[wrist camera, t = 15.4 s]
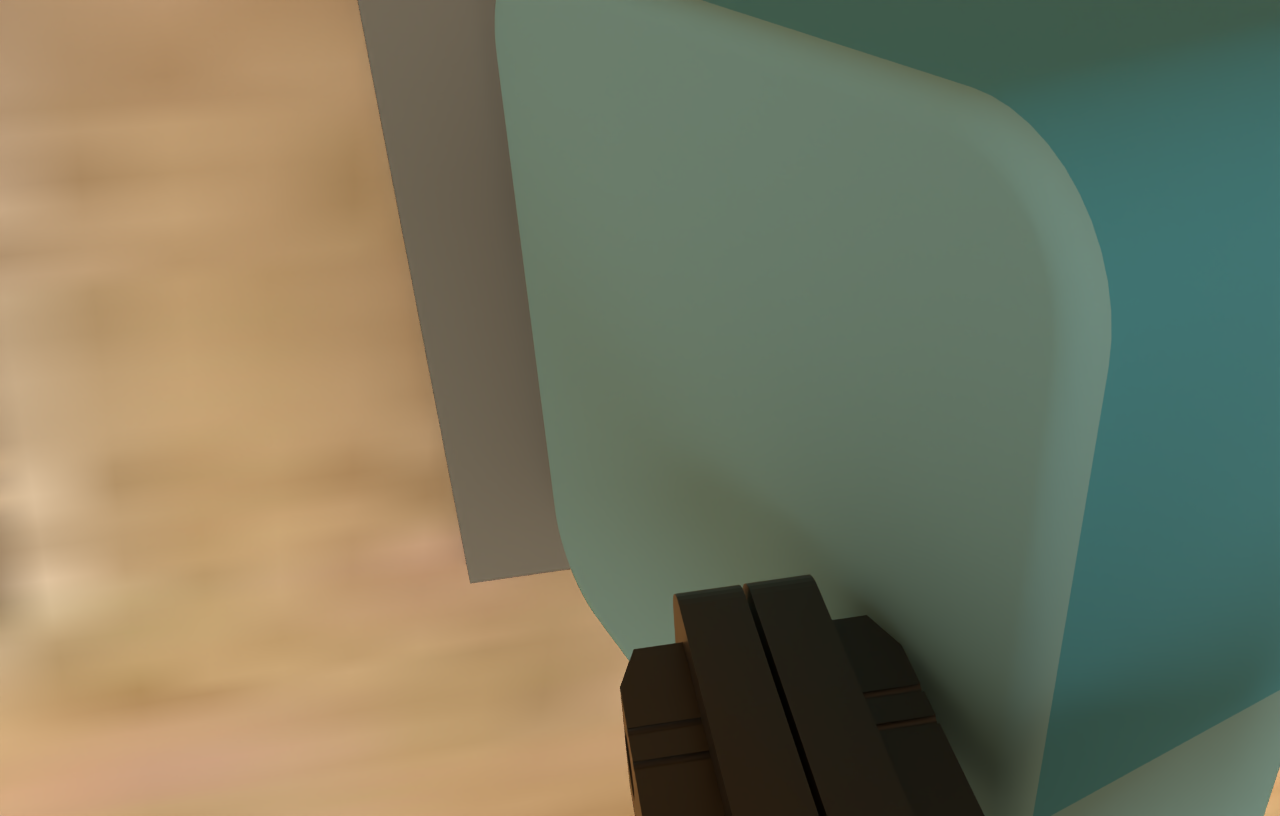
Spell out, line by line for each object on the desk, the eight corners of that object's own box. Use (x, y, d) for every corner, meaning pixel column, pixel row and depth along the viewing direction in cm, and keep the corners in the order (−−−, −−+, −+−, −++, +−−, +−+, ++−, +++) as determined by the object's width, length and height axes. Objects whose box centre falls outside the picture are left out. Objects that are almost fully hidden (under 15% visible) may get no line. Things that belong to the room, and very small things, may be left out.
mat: (336, -132, 18) (332, -128, 17) (1520, -244, 20) (1549, -243, 19) (470, 566, 25) (470, 583, 25) (1325, 443, 27) (1341, 456, 26)
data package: (750, 502, 25) (1229, 951, 15) (559, 573, 23) (963, 1124, 14) (739, -103, 18) (1532, 35, 9) (475, -64, 17) (1114, 151, 7)
